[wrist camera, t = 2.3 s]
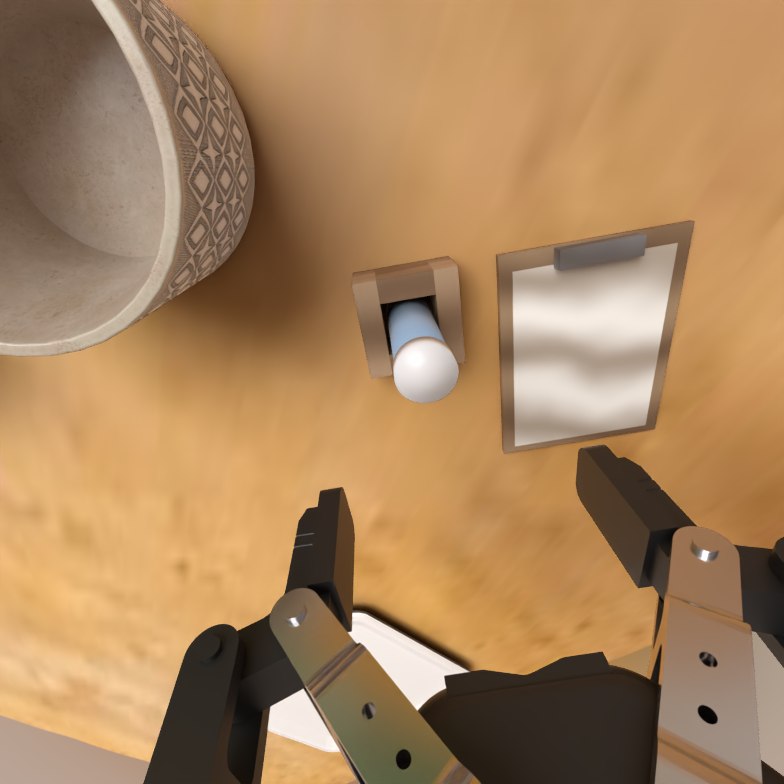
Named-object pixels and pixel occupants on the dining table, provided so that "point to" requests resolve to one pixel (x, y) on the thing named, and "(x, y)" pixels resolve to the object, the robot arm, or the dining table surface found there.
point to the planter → (110, 169)
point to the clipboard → (587, 334)
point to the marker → (419, 352)
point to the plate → (395, 655)
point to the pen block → (405, 284)
